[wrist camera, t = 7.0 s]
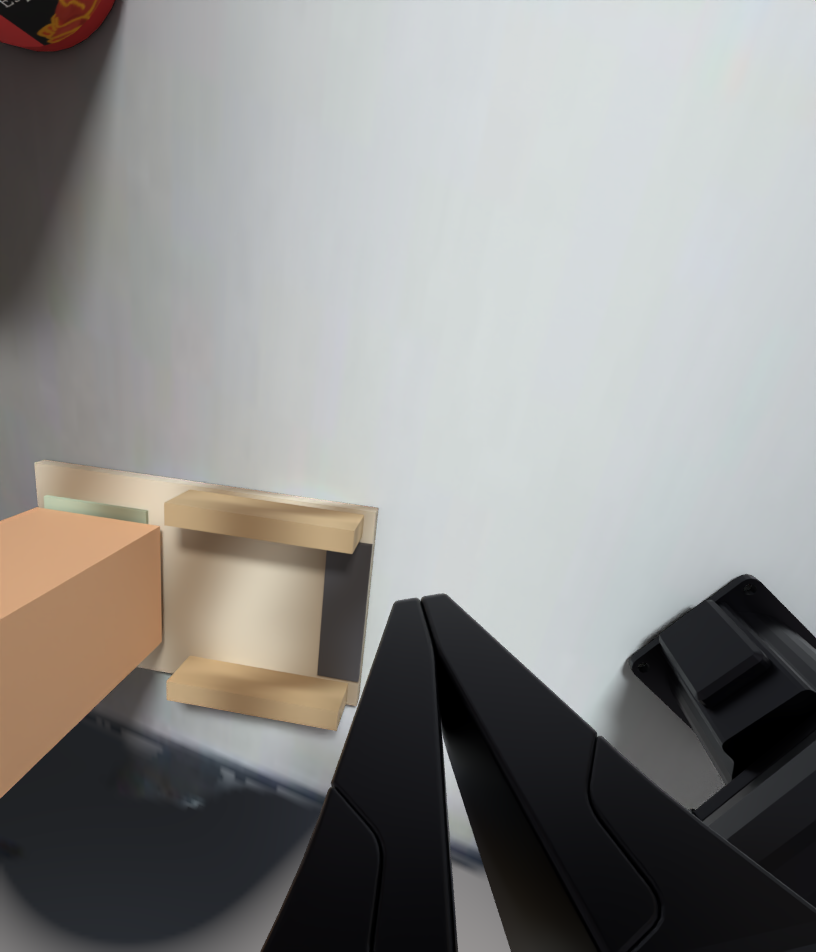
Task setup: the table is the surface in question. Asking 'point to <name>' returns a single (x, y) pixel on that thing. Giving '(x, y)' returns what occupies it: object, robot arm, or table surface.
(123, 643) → the block
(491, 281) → the table surface
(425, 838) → the robot arm
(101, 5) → the canned food
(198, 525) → the board
